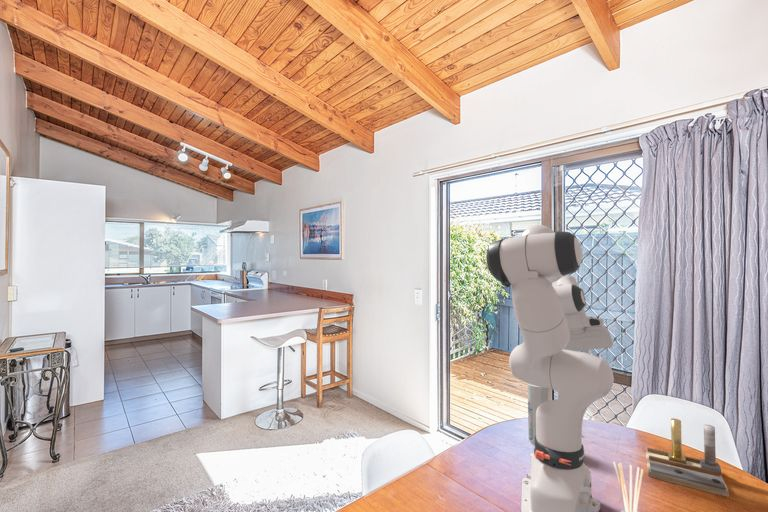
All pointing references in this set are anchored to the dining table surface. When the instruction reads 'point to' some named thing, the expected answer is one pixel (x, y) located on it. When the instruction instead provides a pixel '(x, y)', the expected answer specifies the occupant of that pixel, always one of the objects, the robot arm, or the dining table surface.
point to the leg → (676, 442)
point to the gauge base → (690, 467)
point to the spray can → (535, 407)
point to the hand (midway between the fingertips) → (582, 364)
